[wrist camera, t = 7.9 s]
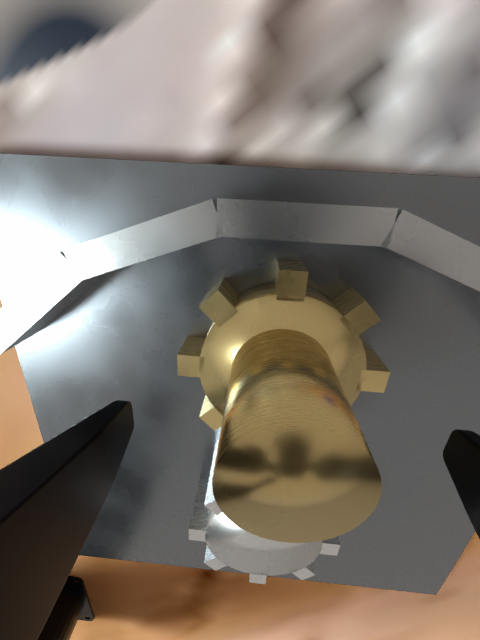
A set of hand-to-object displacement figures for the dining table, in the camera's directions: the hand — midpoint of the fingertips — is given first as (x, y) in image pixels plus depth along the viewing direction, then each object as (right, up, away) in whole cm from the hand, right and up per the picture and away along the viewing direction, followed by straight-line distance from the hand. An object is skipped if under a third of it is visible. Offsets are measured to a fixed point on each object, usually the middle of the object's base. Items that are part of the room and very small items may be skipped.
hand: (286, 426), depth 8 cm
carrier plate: (0, -2, +6) cm, 7 cm away
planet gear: (0, +2, +4) cm, 4 cm away
